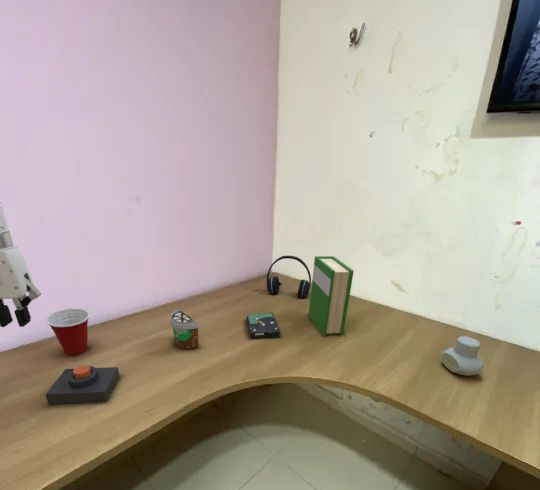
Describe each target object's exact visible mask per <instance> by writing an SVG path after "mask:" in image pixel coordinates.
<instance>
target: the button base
mask: <svg viewBox="0 0 540 490" xmlns="http://www.w3.org/2000/svg"><path fill="white" fill-rule="evenodd" d="M88 366H89V367H90V370H91V375H90V376H88V377H86V378H83V379H75V377H74V374H73V370H74V369H75V368H65V369H64V370H63V372H62V373H61V374H60V375H59V376H58V377H57V379H56V380H55V381H54V382H53V384H52V386H51V387H50V388H49V389H48V391H46V392H45V397H46V400H47V403H48V405H50V406H51V405H52V406H53V405H74V404H75V405H77V404H92V403H107V402H108V401H109V399H110V397H111V395H112V393H113V391H114V389H115V387H116V385H117V383H118V382H119V380H120V378H121V375H120V371H119V367H118V366H111V367H95V366H92V365H88Z"/></svg>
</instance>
